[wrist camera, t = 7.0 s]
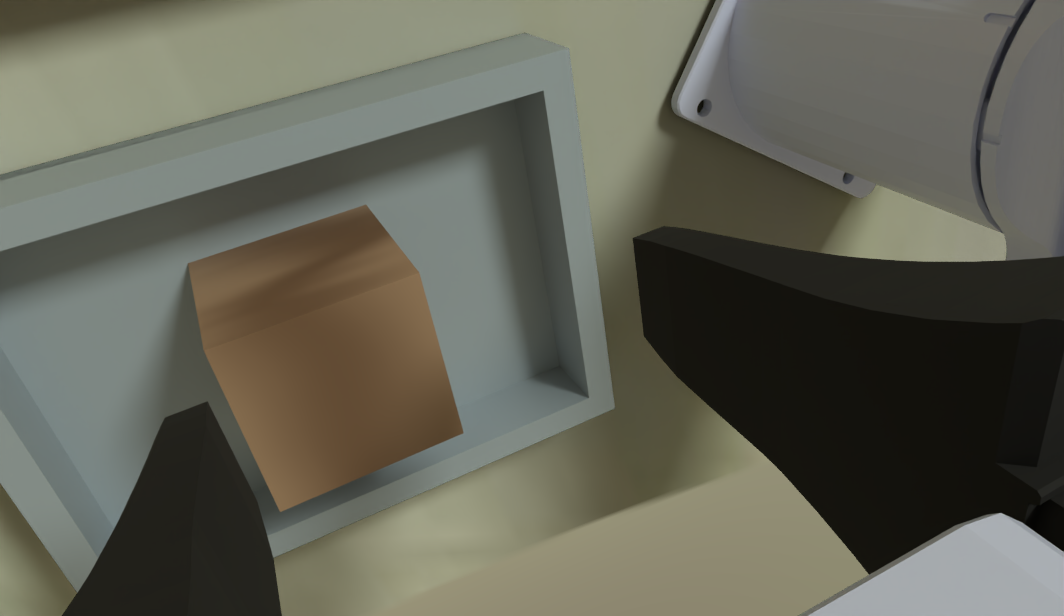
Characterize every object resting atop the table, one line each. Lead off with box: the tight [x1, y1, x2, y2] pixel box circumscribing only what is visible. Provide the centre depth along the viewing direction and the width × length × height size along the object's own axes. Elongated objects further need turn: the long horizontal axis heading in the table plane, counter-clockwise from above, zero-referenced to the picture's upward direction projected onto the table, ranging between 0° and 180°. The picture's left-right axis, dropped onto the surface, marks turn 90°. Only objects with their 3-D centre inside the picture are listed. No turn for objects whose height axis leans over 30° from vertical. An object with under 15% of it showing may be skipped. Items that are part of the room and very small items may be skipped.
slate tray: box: [0, 33, 615, 593], centre depth 20 cm, size 15×11×2 cm
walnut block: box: [188, 205, 464, 512], centre depth 19 cm, size 4×4×4 cm
